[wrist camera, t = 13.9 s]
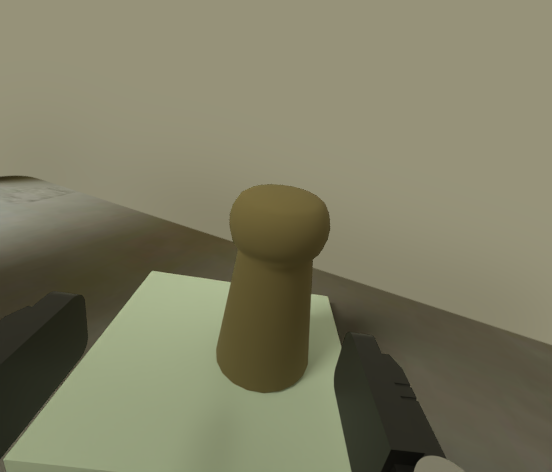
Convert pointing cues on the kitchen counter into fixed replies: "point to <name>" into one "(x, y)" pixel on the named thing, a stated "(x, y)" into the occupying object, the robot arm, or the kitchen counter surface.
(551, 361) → the kitchen counter surface
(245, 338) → the cork
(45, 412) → the sage board
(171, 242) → the kitchen counter surface
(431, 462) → the robot arm
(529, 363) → the kitchen counter surface
